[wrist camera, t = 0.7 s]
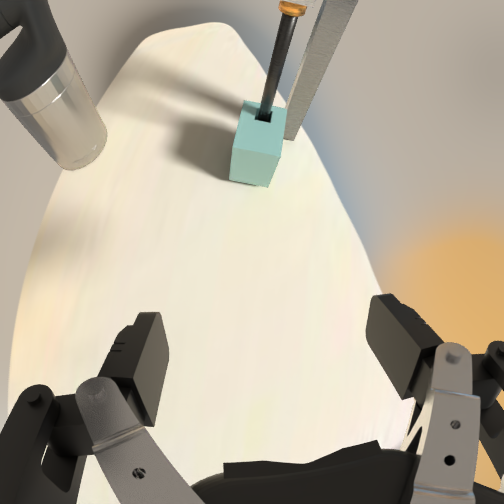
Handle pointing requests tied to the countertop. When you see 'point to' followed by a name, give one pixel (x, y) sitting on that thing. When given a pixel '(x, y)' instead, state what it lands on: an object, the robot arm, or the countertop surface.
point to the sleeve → (257, 145)
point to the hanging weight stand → (304, 57)
